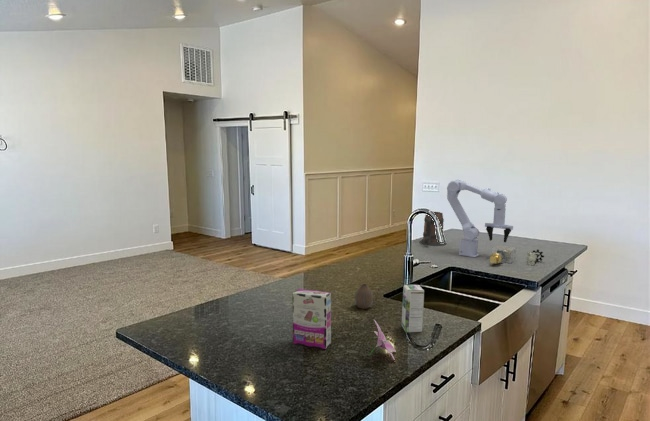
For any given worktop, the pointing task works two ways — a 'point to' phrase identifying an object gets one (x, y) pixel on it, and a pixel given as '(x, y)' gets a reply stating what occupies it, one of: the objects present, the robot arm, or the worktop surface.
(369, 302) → the vase
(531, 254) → the valve
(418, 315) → the syrup box
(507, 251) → the housing
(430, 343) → the worktop surface
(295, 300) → the candy bar box
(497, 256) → the gold rounded block
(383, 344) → the lily
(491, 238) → the robot arm
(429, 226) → the tankard
